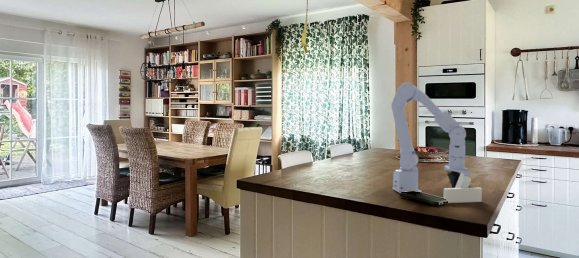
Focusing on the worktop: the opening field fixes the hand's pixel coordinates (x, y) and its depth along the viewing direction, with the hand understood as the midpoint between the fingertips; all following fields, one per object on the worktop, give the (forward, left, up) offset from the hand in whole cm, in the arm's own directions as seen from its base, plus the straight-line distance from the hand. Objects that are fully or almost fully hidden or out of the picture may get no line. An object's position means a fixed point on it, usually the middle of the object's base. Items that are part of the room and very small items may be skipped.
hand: (456, 191), depth 147 cm
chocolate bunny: (+15, +25, -2) cm, 29 cm away
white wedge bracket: (+1, -2, -1) cm, 3 cm away
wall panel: (-3, -9, -2) cm, 10 cm away
